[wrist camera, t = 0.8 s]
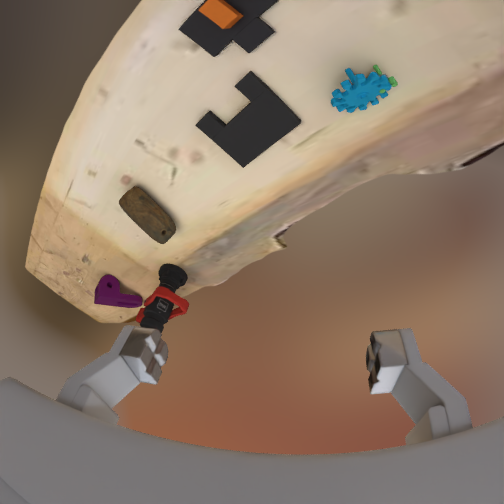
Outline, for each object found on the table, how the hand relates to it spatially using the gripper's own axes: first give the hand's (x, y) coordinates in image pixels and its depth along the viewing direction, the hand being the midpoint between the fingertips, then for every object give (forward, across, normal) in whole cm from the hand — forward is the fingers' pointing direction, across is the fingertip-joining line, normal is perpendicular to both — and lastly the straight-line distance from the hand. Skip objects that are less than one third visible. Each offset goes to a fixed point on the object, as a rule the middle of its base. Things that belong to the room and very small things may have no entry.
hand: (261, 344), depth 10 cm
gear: (+41, -13, -9) cm, 44 cm away
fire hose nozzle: (+57, +38, +39) cm, 79 cm away
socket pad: (+44, +7, -4) cm, 44 cm away
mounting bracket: (+61, +64, +49) cm, 101 cm away
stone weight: (+50, +33, +14) cm, 61 cm away
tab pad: (+39, +6, -21) cm, 45 cm away
